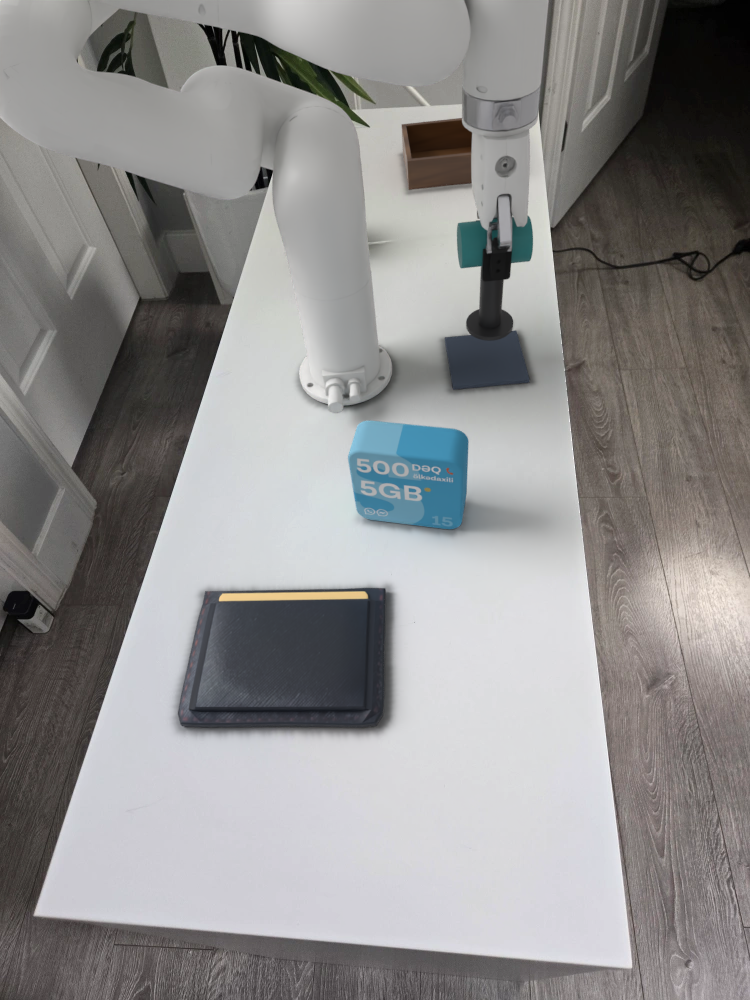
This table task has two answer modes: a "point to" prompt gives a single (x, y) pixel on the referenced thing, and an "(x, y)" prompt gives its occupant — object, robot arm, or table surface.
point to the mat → (485, 361)
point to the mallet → (490, 315)
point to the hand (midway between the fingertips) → (492, 263)
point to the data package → (409, 473)
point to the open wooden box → (437, 153)
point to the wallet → (287, 659)
